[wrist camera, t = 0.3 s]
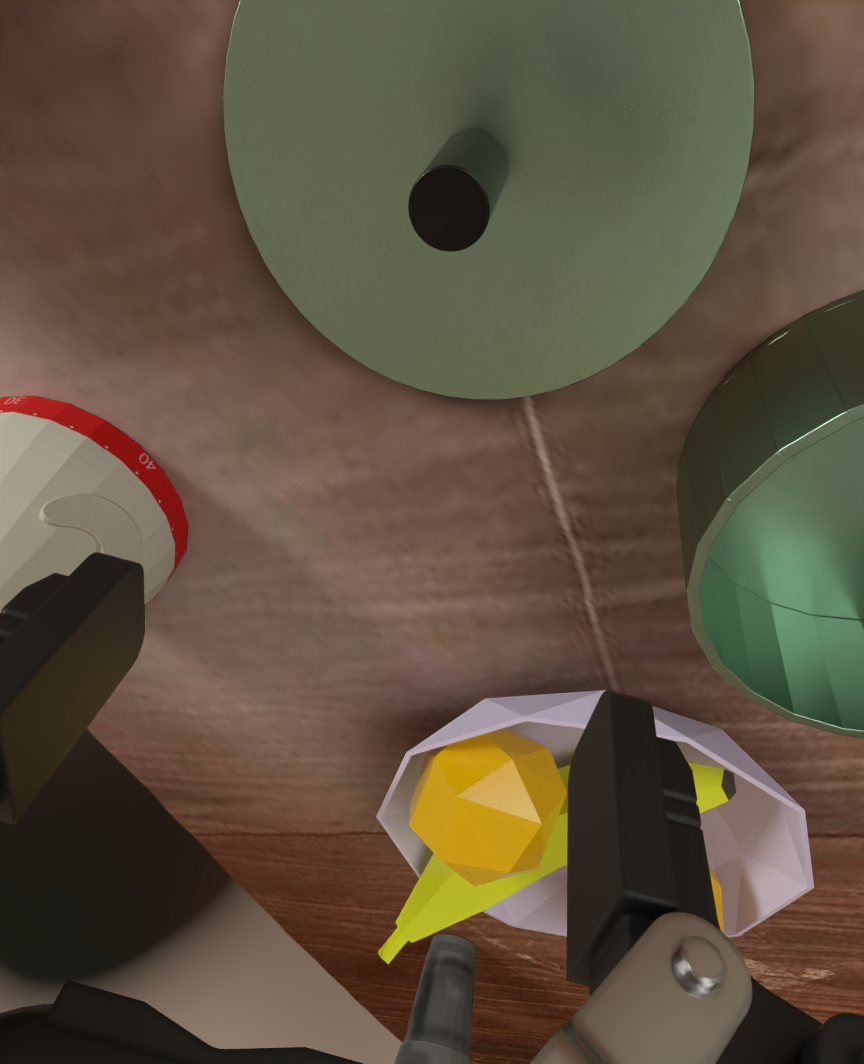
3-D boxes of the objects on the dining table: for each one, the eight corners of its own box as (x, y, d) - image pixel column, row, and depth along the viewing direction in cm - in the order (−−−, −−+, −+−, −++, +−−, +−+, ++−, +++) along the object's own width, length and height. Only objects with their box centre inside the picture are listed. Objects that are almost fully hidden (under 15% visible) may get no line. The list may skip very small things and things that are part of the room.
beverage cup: (471, 927, 71) (430, 1201, 56) (500, 961, 74) (470, 1226, 59) (405, 927, 74) (350, 1187, 59) (437, 960, 77) (392, 1212, 62)
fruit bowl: (772, 610, 39) (815, 807, 30) (805, 872, 54) (841, 1053, 45) (313, 659, 49) (248, 816, 40) (448, 867, 64) (422, 1014, 55)
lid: (474, -404, 19) (426, -506, 14) (864, 160, 25) (920, 215, 21) (150, 160, 30) (64, 206, 25) (478, 458, 36) (457, 539, 32)
